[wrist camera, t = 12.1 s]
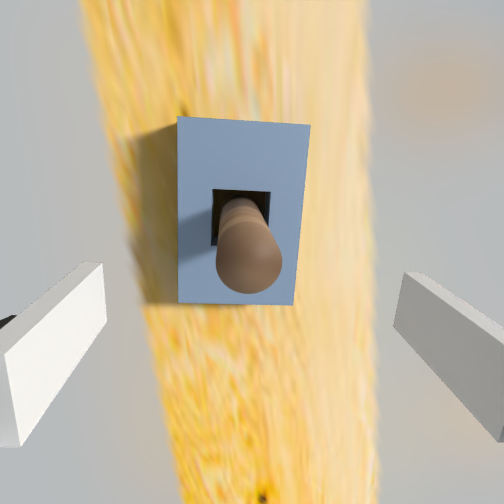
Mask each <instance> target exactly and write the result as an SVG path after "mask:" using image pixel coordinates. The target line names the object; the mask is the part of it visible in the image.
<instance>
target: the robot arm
mask: <svg viewBox="0 0 504 504" xmlns="http://www.w3.org/2000/svg"><path fill="white" fill-rule="evenodd" d="M106 322H107V316H106V303H105V290H104V277H103V264H102V262H83V263H81V264H80V265H79V266H78V267H77V268H75V269H74V270H73V271H72V272H70V273H69V274H68V275H67V276H66V277H64V278H63V279H62V280H60V281H59V282H58V283H57V284H56V285H54V286H53V287H52V288H51V289H49V290H48V291H47V292H46V293H45V294H43V295H42V296H41V297H40V298H39V299H37V300H36V301H35V302H34V303H32V304H31V305H30V306H29V307H27V308H26V309H25V310H24V311H22V312H21V313H20V314H19V315H11V316H9V317H7V318H5V319H2V320H0V447H21V446H22V444H23V443H24V441H25V440H26V439H27V437H28V436H29V434H30V433H31V431H32V430H33V428H34V427H35V426H36V424H37V423H38V421H39V420H40V418H41V417H42V415H43V414H44V412H45V411H46V409H47V408H48V407H49V405H50V404H51V402H52V400H53V399H54V398H55V396H56V395H57V393H58V392H59V391H60V389H61V388H62V386H63V384H64V383H65V382H66V380H67V379H68V377H69V376H70V374H71V373H72V371H73V370H74V369H75V367H76V366H77V364H78V363H79V361H80V360H81V358H82V357H83V355H84V354H85V353H86V351H87V349H88V348H89V347H90V345H91V344H92V342H93V341H94V339H95V338H96V337H97V335H98V334H99V332H100V331H101V329H102V328H103V326H104V325H105V323H106ZM393 327H394V328H395V329H396V330H397V331H398V332H399V334H400V335H401V336H402V337H403V338H404V339H405V340H406V341H407V342H408V344H409V345H410V346H411V347H412V348H413V349H414V350H415V351H416V352H417V353H418V355H419V356H420V357H421V358H422V359H423V360H424V361H425V362H426V363H427V365H428V366H429V367H430V368H431V369H432V370H433V371H434V372H435V373H436V375H437V376H438V377H439V378H440V379H441V380H442V381H443V382H444V383H445V384H446V385H447V387H448V388H449V389H450V390H451V391H452V392H453V393H454V394H455V395H456V397H457V398H458V399H459V400H460V401H461V402H462V403H463V404H464V405H465V407H466V408H467V409H468V410H469V411H470V412H471V413H472V414H473V415H474V417H475V418H476V419H477V420H478V421H479V422H480V423H481V424H482V425H483V426H484V428H485V429H486V430H487V431H488V432H489V433H490V434H491V435H492V436H493V438H495V440H496V441H497V442H504V328H503V327H502V326H500V325H499V324H497V323H495V322H494V321H493V320H491V319H489V318H488V317H487V316H485V315H483V314H482V313H480V312H479V311H477V310H476V309H475V308H473V307H472V306H470V305H469V304H467V303H466V302H464V301H463V300H461V299H459V298H458V297H457V296H455V295H453V294H452V293H450V292H449V291H447V290H446V289H444V288H443V287H442V286H440V285H439V284H437V283H436V282H434V281H433V280H431V279H430V278H428V277H427V276H425V275H423V274H422V273H421V272H404V275H403V280H402V285H401V290H400V295H399V300H398V305H397V310H396V315H395V320H394V325H393Z"/></svg>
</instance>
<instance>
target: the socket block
mask: <svg viewBox="0 0 504 504" xmlns="http://www.w3.org/2000/svg"><path fill="white" fill-rule="evenodd" d="M310 126H311V125H304V124H289V123H273V122H258V121H243V120H227V119H212V118H196V117H181V116H177V151H178V303H207V304H252V305H293V301H294V291H295V280H296V270H297V260H298V249H299V239H300V229H301V219H302V208H303V198H304V188H305V177H306V167H307V157H308V147H309V136H310ZM214 189H227V190H247V191H266V194H265V210H264V220H265V222H266V224H267V226H268V228H269V230H270V232H271V234H272V235H273V237H274V239H275V241H276V243H277V245H278V247H279V249H280V251H281V255H282V269H281V272H280V274H279V276H278V278H277V280H276V281H275V282H274V283H273V284H272V285H271V286H270V287H269V288H267V289H265V290H264V291H261V292H258V293H254V294H243V293H238V292H235V291H233V290H231V289H230V288H228V287H227V286H226V285H225V284H224V283H223V282H222V281H221V279H220V278H219V276H218V273H217V270H216V253H217V243H218V235H213V201H214Z"/></svg>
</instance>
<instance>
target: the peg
mask: <svg viewBox="0 0 504 504" xmlns="http://www.w3.org/2000/svg"><path fill="white" fill-rule="evenodd" d="M281 269H282V255H281V251H280V249H279V247H278V245H277V243H276V241H275V239H274V237H273V235H272V234H271V232H270V230H269V228H268V226H267V224H266V222H265V220H264V218H263V216H262V215H261V213H260V211H259V209H258V207H257V205H256V203H255V201H254V200H253V199H252V198H251V197H250V196H248V195H246V194H242V193H236V194H233V195H230V196H229V197H228V198H226V199H225V201H224V202H223V204H222V207H221V215H220V225H219V234H218V243H217V253H216V270H217V273H218V276H219V278H220V279H221V281H222V282H223V283H224V284H225V285H226V286H227V287H228V288H230V289H231V290H233V291H235V292H238V293H243V294H254V293H258V292H261V291H264V290H265V289H267V288H269V287H270V286H271V285H272V284H273V283H274V282H275V281H276V280H277V278H278V276H279V274H280V272H281Z"/></svg>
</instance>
